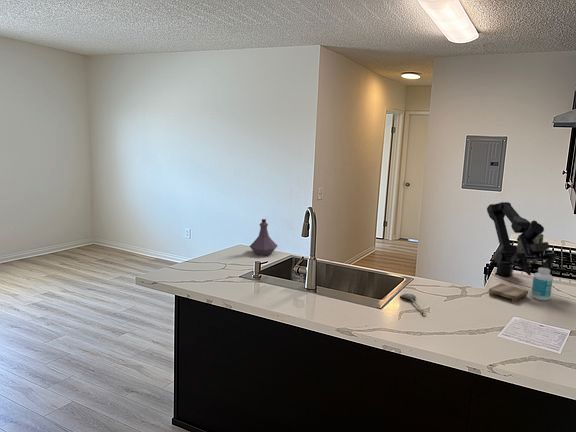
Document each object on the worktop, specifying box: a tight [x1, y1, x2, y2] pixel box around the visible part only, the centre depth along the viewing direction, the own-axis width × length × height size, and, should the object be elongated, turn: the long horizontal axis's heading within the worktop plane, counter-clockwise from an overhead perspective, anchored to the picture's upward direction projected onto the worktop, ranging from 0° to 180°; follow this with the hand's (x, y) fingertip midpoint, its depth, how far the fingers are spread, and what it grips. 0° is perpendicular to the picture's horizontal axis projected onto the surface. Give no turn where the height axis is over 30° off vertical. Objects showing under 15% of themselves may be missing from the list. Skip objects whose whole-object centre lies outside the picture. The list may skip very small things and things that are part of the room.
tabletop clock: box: [516, 233, 544, 268], centre depth 247 cm, size 14×9×25 cm, turn 137°
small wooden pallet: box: [488, 282, 529, 304], centre depth 203 cm, size 12×12×3 cm
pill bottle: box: [530, 267, 554, 301], centre depth 200 cm, size 8×7×14 cm
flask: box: [249, 218, 278, 256], centre depth 260 cm, size 16×16×20 cm
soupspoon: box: [400, 293, 427, 315], centre depth 191 cm, size 22×3×7 cm
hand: (539, 274), depth 202 cm, fingers open, 9 cm apart
